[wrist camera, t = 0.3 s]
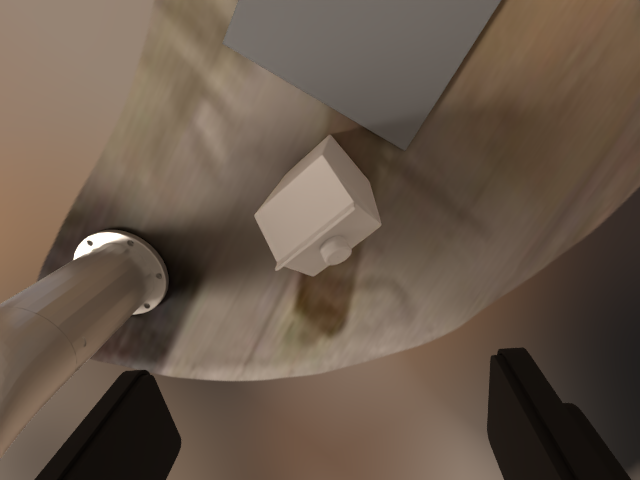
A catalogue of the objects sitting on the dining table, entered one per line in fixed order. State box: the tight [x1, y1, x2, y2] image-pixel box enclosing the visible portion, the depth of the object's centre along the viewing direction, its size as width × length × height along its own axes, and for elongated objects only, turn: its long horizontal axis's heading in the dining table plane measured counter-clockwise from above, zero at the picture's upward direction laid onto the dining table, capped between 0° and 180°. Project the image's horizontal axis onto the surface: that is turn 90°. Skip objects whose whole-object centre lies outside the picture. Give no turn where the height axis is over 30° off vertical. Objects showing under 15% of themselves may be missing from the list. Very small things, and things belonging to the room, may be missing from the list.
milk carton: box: [254, 135, 382, 277], centre depth 31 cm, size 7×7×19 cm
